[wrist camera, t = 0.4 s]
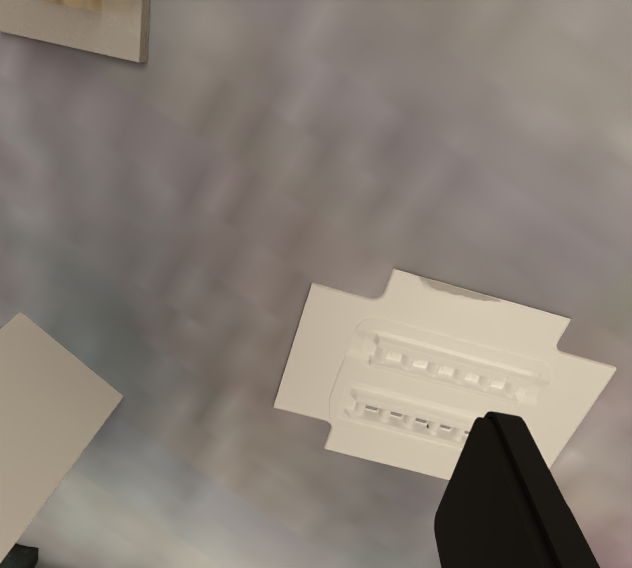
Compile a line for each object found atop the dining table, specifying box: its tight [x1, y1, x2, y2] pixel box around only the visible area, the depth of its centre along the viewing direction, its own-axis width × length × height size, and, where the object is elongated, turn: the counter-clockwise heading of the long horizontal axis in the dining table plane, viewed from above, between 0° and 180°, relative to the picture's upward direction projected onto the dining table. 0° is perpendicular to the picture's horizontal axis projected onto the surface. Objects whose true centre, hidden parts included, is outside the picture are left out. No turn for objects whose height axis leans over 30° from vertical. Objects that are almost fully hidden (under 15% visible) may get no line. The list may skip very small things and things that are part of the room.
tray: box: [273, 268, 616, 480], centre depth 44 cm, size 20×28×4 cm
